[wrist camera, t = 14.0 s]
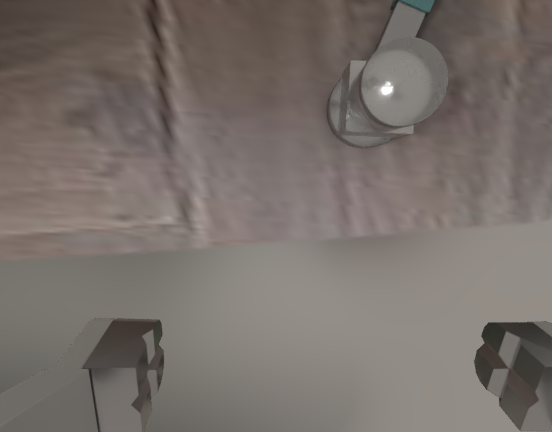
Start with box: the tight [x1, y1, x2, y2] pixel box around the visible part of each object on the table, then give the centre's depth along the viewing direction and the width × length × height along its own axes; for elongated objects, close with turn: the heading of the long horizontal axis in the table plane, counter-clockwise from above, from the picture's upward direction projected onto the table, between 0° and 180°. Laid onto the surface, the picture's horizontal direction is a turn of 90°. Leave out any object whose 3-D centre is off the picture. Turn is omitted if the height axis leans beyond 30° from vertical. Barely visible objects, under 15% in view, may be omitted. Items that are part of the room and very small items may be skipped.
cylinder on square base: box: [338, 37, 448, 138], centre depth 25 cm, size 5×5×9 cm
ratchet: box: [327, 0, 435, 148], centre depth 28 cm, size 18×7×6 cm, turn 158°
